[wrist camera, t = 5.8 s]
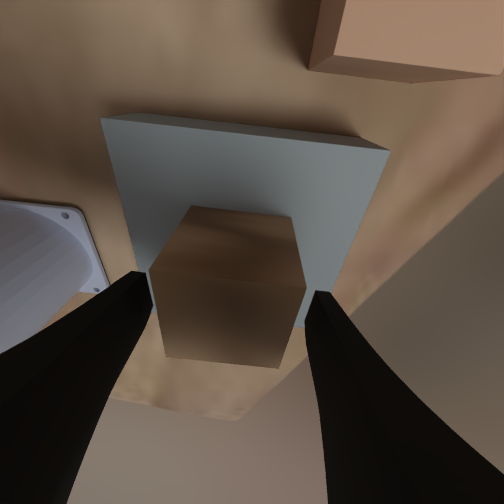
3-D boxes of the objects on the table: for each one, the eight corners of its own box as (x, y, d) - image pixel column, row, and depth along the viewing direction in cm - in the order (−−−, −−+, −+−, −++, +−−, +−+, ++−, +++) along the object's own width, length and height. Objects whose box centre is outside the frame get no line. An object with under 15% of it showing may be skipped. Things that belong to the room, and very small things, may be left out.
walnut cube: (195, 280, 14) (166, 356, 10) (191, 205, 11) (148, 270, 7) (274, 288, 14) (278, 368, 10) (291, 217, 11) (306, 288, 7)
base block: (169, 275, 19) (149, 312, 16) (143, 111, 12) (99, 117, 9) (307, 289, 19) (315, 328, 16) (358, 136, 12) (391, 150, 9)
